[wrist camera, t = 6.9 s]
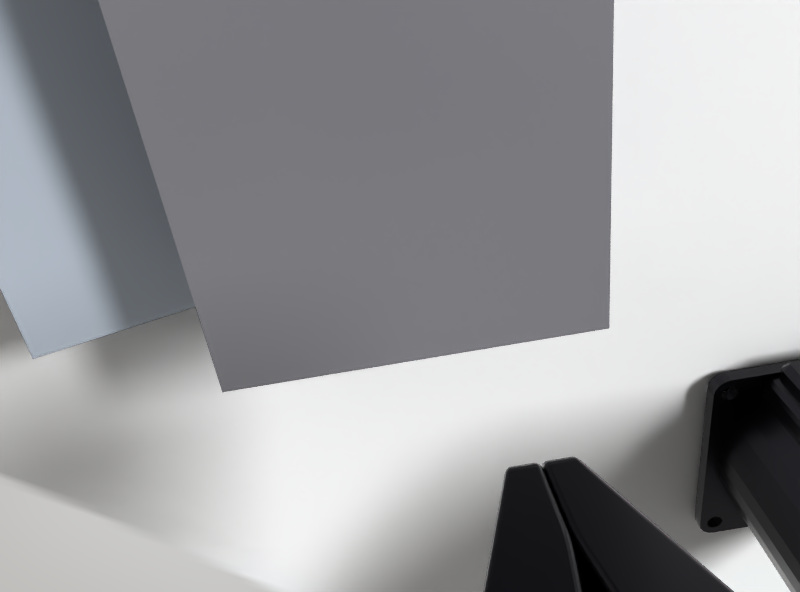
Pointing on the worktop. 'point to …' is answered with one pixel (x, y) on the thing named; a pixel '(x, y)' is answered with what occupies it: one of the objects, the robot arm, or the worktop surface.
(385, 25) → the cabinet housing
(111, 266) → the door
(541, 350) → the worktop surface
